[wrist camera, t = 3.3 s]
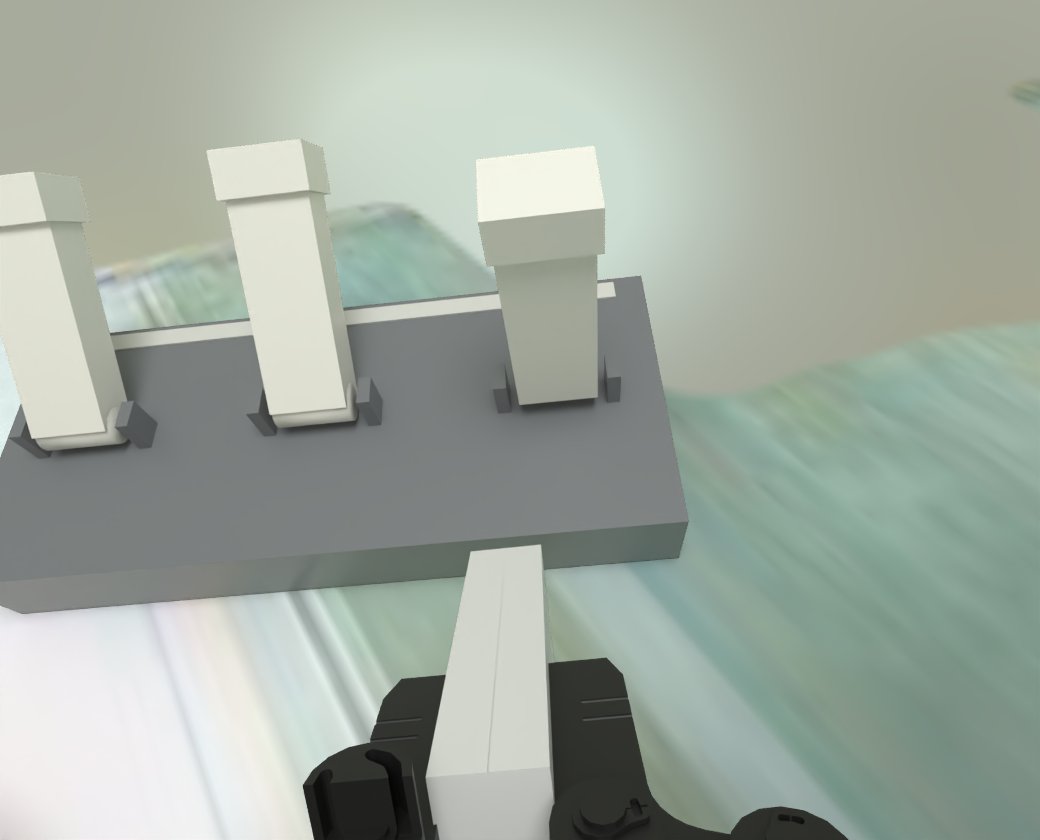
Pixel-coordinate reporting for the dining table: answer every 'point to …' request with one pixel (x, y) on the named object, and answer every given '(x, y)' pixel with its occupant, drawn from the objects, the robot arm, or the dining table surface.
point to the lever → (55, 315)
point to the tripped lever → (546, 266)
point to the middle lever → (289, 278)
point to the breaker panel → (344, 465)
